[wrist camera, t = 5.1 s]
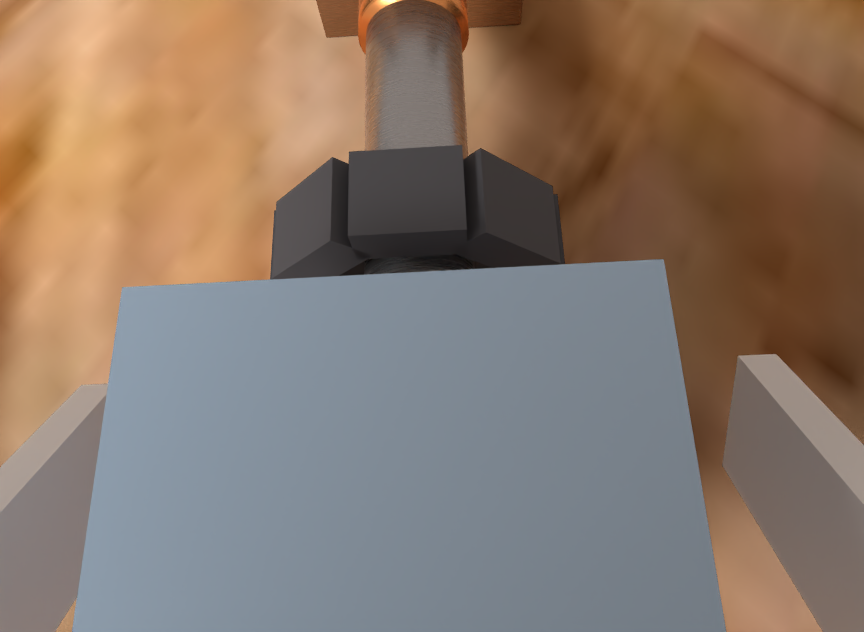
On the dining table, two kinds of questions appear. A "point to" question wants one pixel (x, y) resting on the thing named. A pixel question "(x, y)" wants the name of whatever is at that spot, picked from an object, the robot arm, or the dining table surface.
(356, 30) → the pipe rig
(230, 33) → the dining table surface
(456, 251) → the ring
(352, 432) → the sleeve
